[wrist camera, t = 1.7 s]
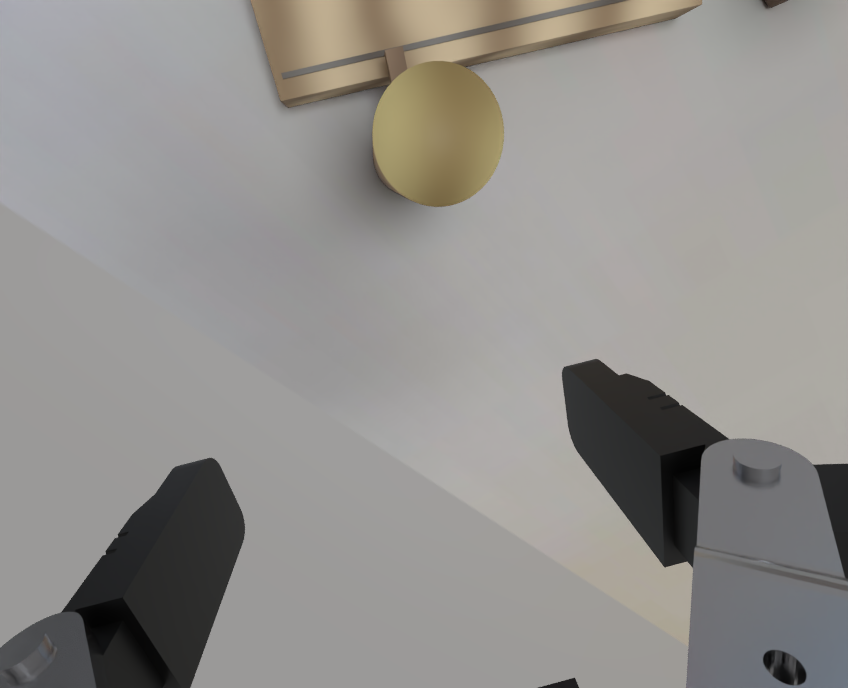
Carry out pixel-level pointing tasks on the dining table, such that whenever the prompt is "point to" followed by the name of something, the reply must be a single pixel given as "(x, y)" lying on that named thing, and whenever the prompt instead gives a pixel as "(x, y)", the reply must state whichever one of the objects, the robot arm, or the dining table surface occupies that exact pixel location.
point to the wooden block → (774, 2)
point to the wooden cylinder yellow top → (435, 131)
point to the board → (425, 35)
